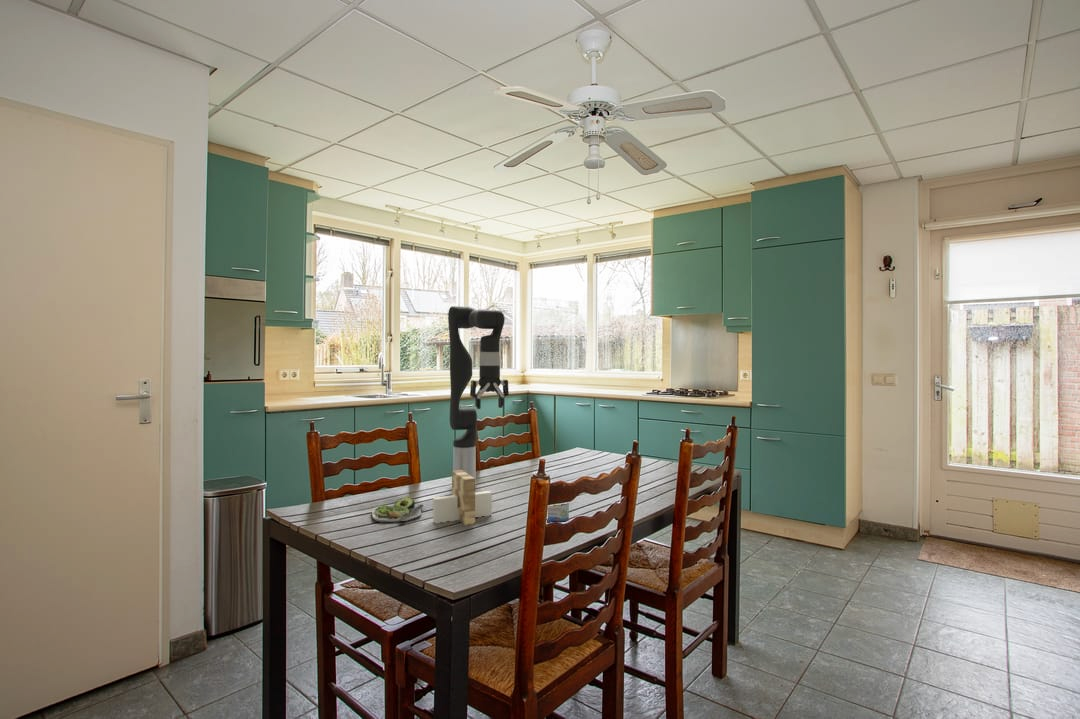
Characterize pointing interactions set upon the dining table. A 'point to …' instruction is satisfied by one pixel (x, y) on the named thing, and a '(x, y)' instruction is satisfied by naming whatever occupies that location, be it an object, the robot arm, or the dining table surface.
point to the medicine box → (558, 513)
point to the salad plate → (398, 511)
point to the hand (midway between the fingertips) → (489, 408)
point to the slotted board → (450, 511)
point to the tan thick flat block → (464, 495)
